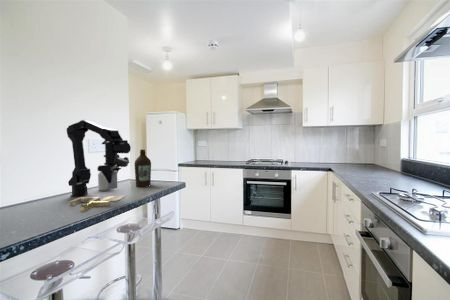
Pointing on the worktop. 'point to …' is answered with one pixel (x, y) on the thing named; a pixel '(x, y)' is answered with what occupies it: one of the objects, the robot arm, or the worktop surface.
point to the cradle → (84, 200)
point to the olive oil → (143, 170)
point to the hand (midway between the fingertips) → (111, 182)
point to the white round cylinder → (113, 181)
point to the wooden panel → (112, 198)
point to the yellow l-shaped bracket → (94, 204)
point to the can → (102, 182)
